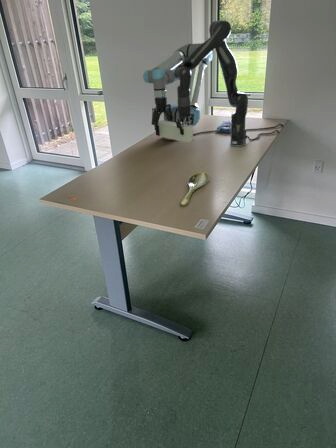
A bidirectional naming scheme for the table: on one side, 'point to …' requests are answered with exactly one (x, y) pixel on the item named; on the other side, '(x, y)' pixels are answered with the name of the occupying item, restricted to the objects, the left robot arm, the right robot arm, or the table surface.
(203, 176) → the spoon
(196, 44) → the left robot arm
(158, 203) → the table surface
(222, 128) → the spray gun
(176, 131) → the bar
